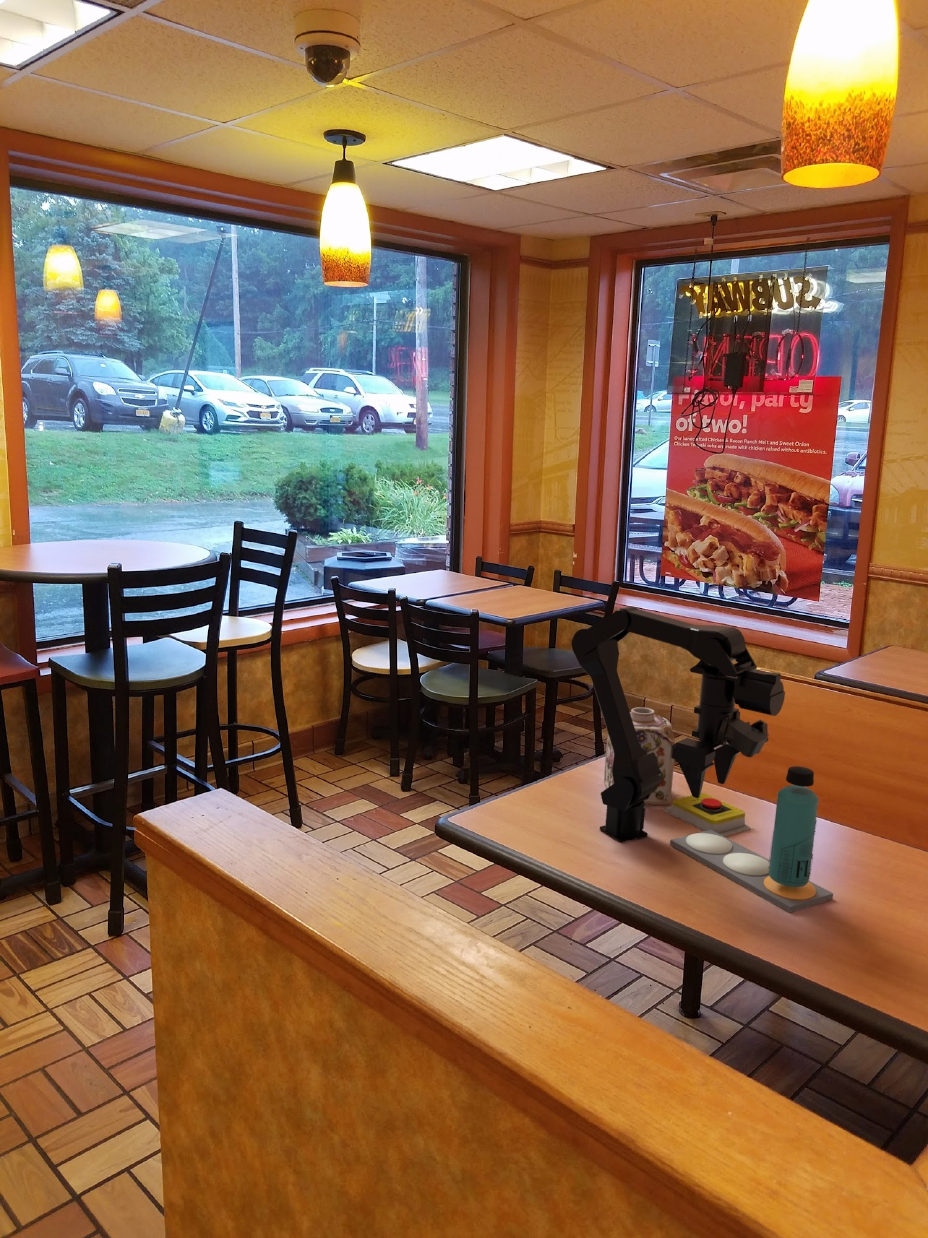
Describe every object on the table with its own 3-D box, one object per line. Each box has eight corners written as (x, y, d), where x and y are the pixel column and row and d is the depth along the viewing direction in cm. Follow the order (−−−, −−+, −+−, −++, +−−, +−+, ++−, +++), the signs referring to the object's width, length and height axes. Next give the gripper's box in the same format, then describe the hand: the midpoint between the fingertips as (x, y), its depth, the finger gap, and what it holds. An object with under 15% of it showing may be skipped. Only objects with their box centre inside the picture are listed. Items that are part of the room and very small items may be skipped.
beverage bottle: (794, 900, 147) (809, 780, 143) (757, 883, 152) (771, 766, 148) (816, 889, 151) (832, 771, 147) (780, 873, 156) (794, 759, 152)
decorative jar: (671, 806, 186) (678, 719, 183) (612, 805, 186) (619, 717, 182) (657, 784, 198) (664, 702, 194) (602, 782, 198) (608, 700, 194)
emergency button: (720, 818, 171) (662, 790, 184) (718, 841, 172) (660, 811, 185) (754, 809, 176) (696, 782, 189) (752, 831, 177) (694, 803, 190)
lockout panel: (789, 913, 146) (790, 905, 145) (669, 844, 168) (670, 838, 168) (832, 899, 151) (833, 891, 150) (710, 834, 173) (711, 828, 173)
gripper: (737, 725, 145) (727, 820, 148) (786, 702, 158) (777, 789, 162) (672, 709, 152) (665, 800, 155) (725, 688, 166) (717, 772, 169)
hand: (708, 790), depth 160 cm, fingers open, 9 cm apart
